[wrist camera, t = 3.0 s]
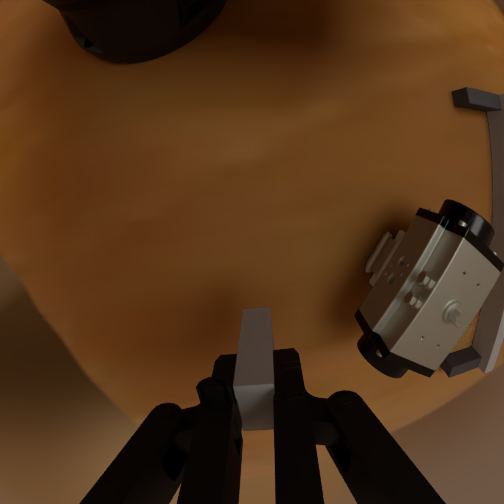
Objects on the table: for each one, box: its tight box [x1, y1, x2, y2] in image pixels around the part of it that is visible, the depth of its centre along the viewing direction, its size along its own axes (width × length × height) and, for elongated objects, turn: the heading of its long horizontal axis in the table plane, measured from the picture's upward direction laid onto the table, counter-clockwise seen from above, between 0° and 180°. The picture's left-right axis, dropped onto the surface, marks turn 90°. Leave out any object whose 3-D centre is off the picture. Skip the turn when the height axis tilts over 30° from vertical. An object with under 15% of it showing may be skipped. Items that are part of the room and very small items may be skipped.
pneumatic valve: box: [354, 199, 504, 378], centre depth 19 cm, size 6×12×12 cm, turn 153°
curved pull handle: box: [440, 87, 504, 377], centre depth 22 cm, size 30×10×4 cm, turn 7°
